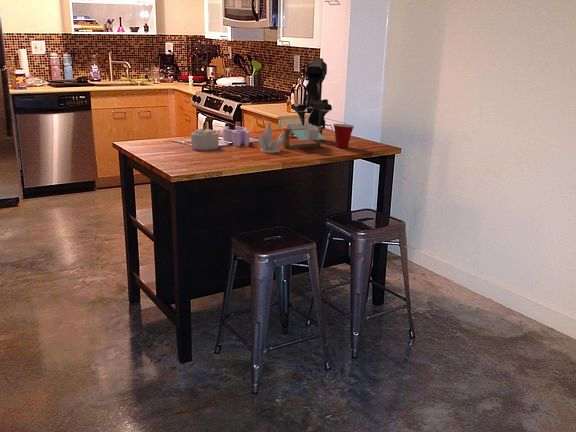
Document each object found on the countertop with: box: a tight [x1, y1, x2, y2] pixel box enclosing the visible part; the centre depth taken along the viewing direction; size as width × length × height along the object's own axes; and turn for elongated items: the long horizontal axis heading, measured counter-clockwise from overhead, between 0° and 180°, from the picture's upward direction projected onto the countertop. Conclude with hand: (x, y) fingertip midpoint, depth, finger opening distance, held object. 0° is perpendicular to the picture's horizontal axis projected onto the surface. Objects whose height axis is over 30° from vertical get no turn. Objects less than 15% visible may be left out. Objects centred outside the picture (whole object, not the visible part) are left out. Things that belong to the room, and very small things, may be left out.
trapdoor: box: [286, 122, 326, 142], centre depth 278 cm, size 16×14×4 cm
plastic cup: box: [333, 123, 355, 149], centre depth 284 cm, size 11×11×12 cm
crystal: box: [257, 120, 284, 154], centre depth 269 cm, size 10×13×15 cm
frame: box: [283, 127, 323, 149], centre depth 281 cm, size 2×20×10 cm, turn 116°
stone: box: [304, 125, 319, 141], centre depth 272 cm, size 5×5×5 cm
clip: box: [222, 125, 250, 147], centre depth 286 cm, size 20×12×7 cm, turn 24°
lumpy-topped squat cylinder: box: [190, 128, 220, 151], centre depth 270 cm, size 10×13×9 cm
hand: (311, 125), depth 272 cm, fingers open, 9 cm apart
